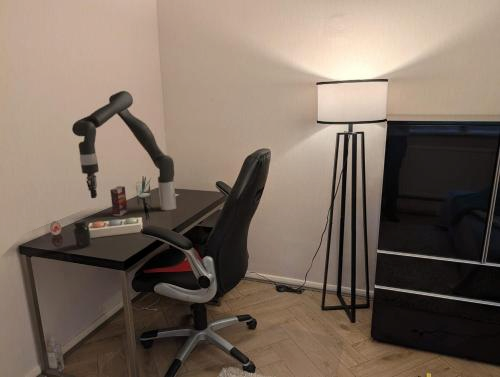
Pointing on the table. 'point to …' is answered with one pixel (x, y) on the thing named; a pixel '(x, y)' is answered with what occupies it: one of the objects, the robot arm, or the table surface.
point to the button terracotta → (98, 224)
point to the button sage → (131, 221)
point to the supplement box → (118, 200)
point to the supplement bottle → (81, 234)
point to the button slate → (114, 222)
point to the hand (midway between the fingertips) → (94, 197)
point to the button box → (115, 229)
